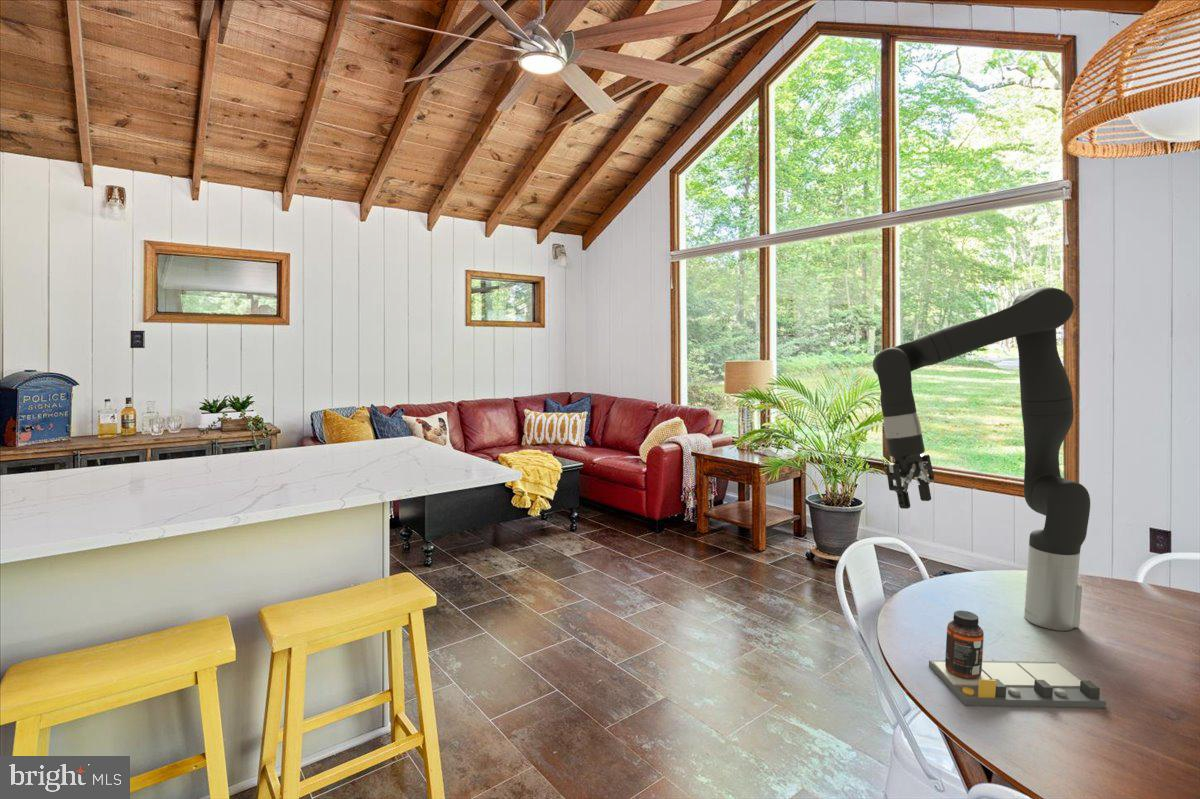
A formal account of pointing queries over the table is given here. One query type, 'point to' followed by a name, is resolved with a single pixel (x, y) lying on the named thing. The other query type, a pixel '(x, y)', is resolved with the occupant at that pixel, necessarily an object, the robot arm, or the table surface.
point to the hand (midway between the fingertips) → (915, 504)
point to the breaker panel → (1021, 685)
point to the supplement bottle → (964, 645)
